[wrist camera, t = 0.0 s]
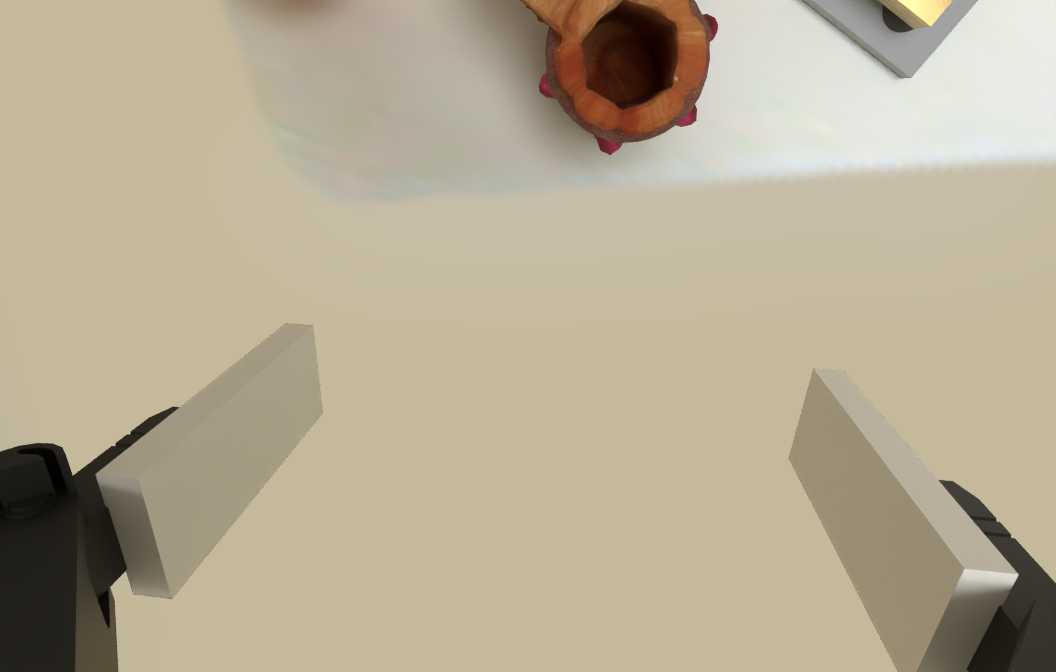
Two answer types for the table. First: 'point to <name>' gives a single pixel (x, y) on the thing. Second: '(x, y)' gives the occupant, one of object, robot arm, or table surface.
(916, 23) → the beam
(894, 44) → the flange plate
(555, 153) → the table surface
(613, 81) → the mug
